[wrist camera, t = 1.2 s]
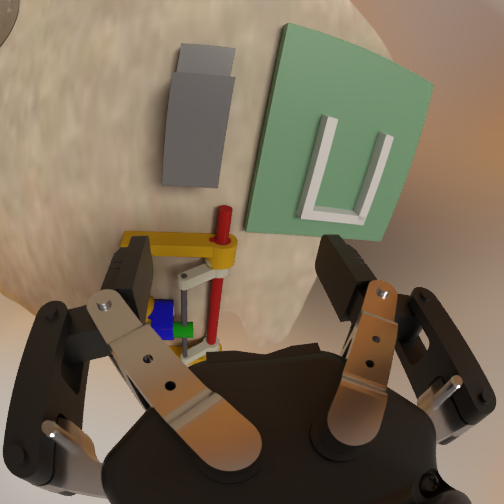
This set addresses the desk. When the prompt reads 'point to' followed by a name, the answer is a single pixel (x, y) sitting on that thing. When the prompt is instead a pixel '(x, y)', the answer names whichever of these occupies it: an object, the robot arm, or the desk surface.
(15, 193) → the desk surface
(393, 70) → the green plate with u-rail
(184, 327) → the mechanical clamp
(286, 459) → the robot arm
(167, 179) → the grey stepped block
